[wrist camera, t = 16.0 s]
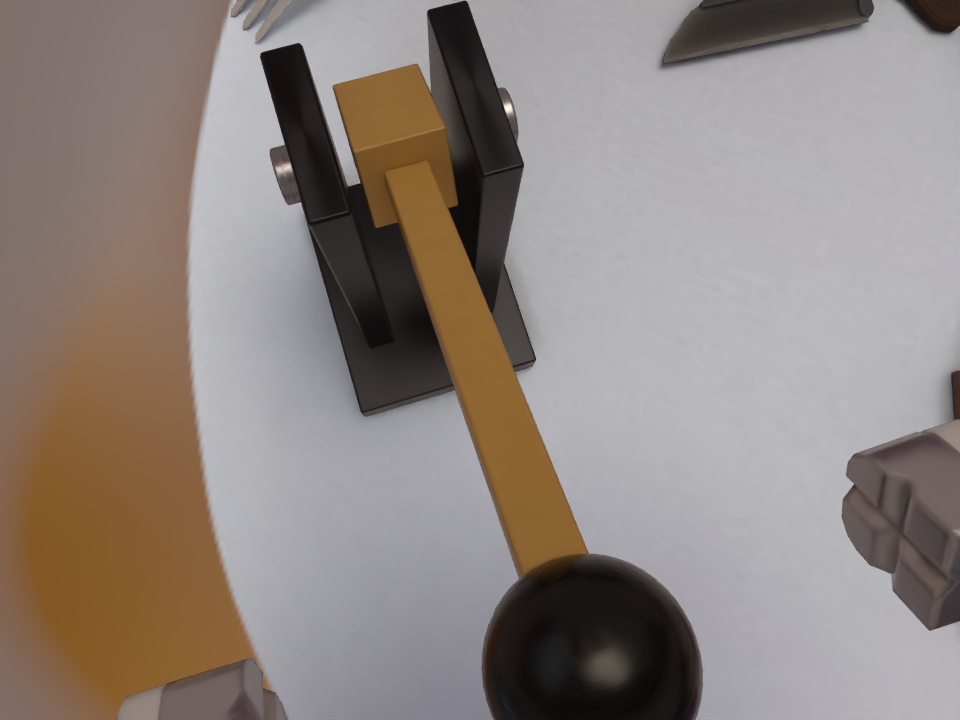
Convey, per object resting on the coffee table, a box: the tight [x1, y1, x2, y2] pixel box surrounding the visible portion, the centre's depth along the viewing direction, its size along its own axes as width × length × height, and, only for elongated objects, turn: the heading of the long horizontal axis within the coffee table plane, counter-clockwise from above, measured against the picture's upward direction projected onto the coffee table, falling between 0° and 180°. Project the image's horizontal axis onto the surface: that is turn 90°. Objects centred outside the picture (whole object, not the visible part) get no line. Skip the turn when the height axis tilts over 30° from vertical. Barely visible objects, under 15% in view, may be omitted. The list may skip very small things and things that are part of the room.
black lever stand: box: [260, 1, 536, 417], centre depth 24 cm, size 9×7×14 cm
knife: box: [663, 0, 960, 63], centre depth 33 cm, size 14×4×1 cm, turn 104°
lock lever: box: [333, 64, 703, 720], centre depth 15 cm, size 16×3×3 cm, turn 17°
